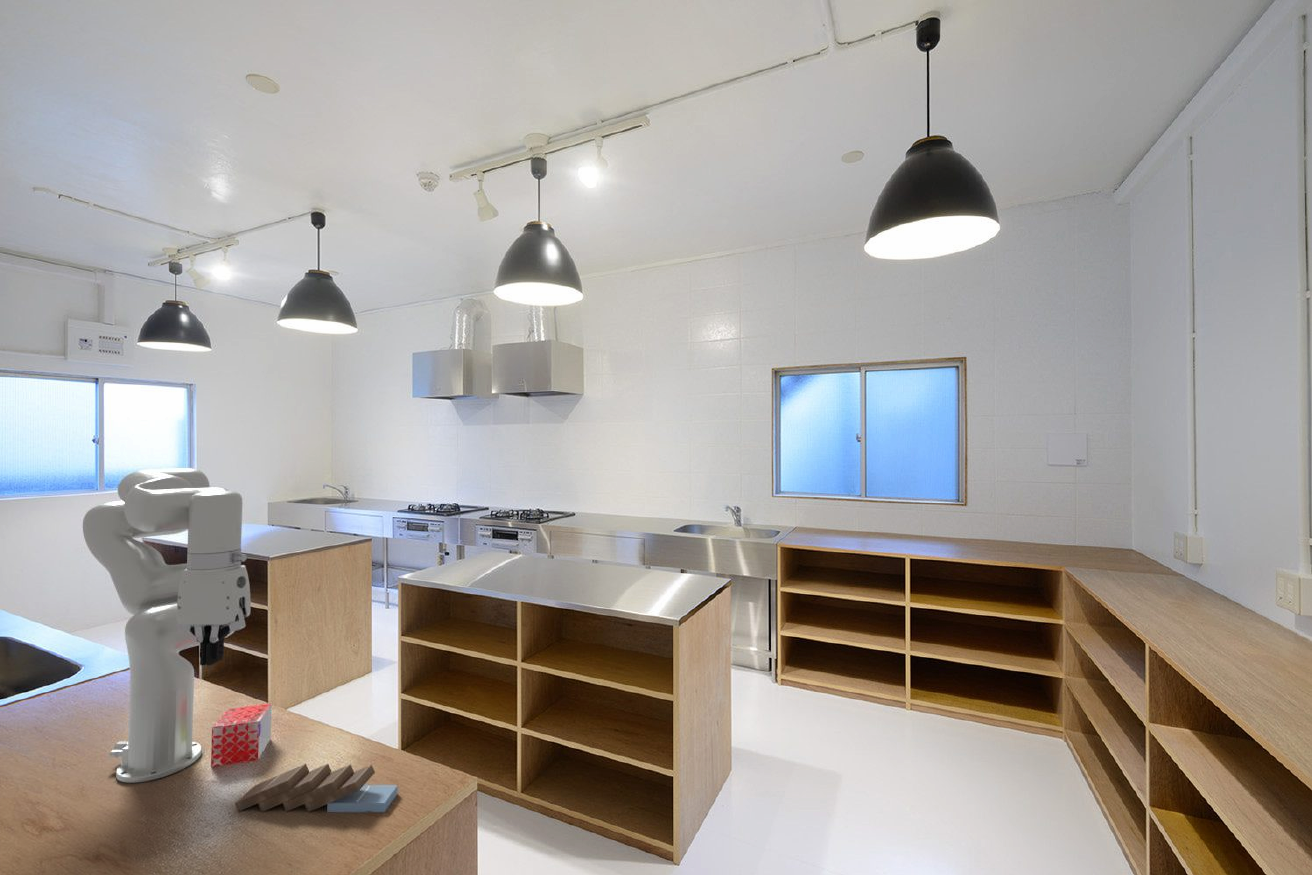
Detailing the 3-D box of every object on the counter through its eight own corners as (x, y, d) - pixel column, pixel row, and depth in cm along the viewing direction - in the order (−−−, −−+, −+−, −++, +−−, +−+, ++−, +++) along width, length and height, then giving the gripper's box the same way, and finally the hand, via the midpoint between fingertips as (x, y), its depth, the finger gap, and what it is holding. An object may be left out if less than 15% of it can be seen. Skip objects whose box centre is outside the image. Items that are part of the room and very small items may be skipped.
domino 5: (327, 802, 95) (384, 802, 95) (343, 784, 100) (397, 784, 100) (327, 812, 95) (384, 812, 95) (343, 794, 100) (397, 793, 100)
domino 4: (304, 803, 95) (355, 781, 94) (322, 784, 100) (371, 764, 99) (308, 812, 95) (359, 790, 94) (326, 793, 100) (375, 772, 99)
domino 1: (234, 802, 95) (287, 779, 95) (255, 784, 100) (305, 763, 100) (238, 811, 95) (291, 788, 95) (258, 793, 100) (309, 771, 100)
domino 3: (282, 802, 95) (332, 781, 94) (302, 784, 100) (350, 763, 99) (286, 811, 95) (336, 790, 94) (306, 792, 100) (354, 772, 99)
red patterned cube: (226, 746, 115) (227, 708, 115) (270, 739, 117) (271, 703, 118) (210, 767, 107) (211, 727, 107) (258, 760, 110) (259, 721, 110)
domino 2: (258, 803, 95) (310, 779, 95) (277, 785, 100) (328, 763, 100) (261, 812, 95) (314, 788, 95) (281, 793, 100) (331, 771, 100)
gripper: (271, 556, 101) (268, 654, 101) (188, 555, 101) (185, 654, 101) (242, 565, 94) (239, 671, 94) (153, 564, 93) (149, 671, 93)
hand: (211, 662), depth 97 cm, fingers closed
